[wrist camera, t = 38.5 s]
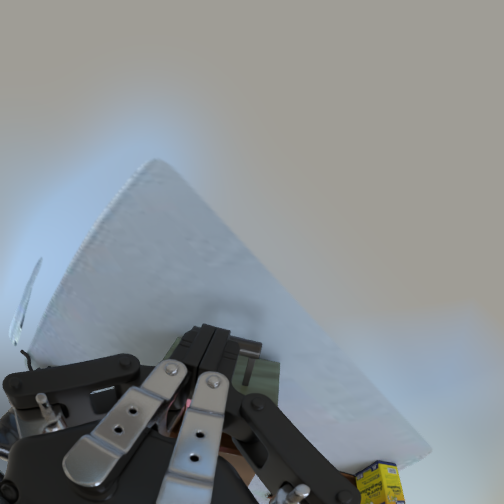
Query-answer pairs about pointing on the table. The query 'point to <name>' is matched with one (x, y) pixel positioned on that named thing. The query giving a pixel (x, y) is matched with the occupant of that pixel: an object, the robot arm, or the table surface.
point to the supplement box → (380, 484)
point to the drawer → (245, 377)
